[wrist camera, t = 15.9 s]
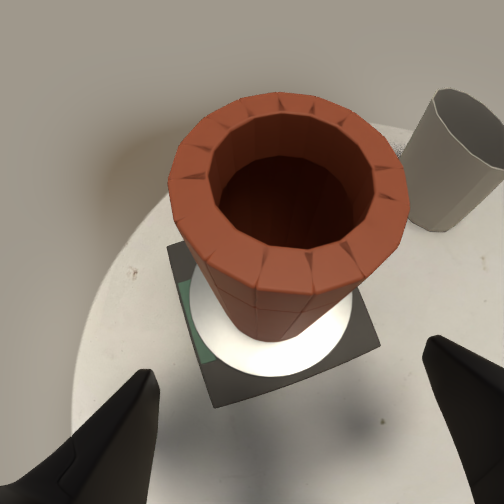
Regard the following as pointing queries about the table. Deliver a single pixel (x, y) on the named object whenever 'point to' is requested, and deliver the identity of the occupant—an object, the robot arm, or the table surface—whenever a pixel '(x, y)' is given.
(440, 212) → the cup
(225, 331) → the scale pan
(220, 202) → the jar
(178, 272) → the scale
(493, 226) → the table surface
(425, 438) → the table surface
